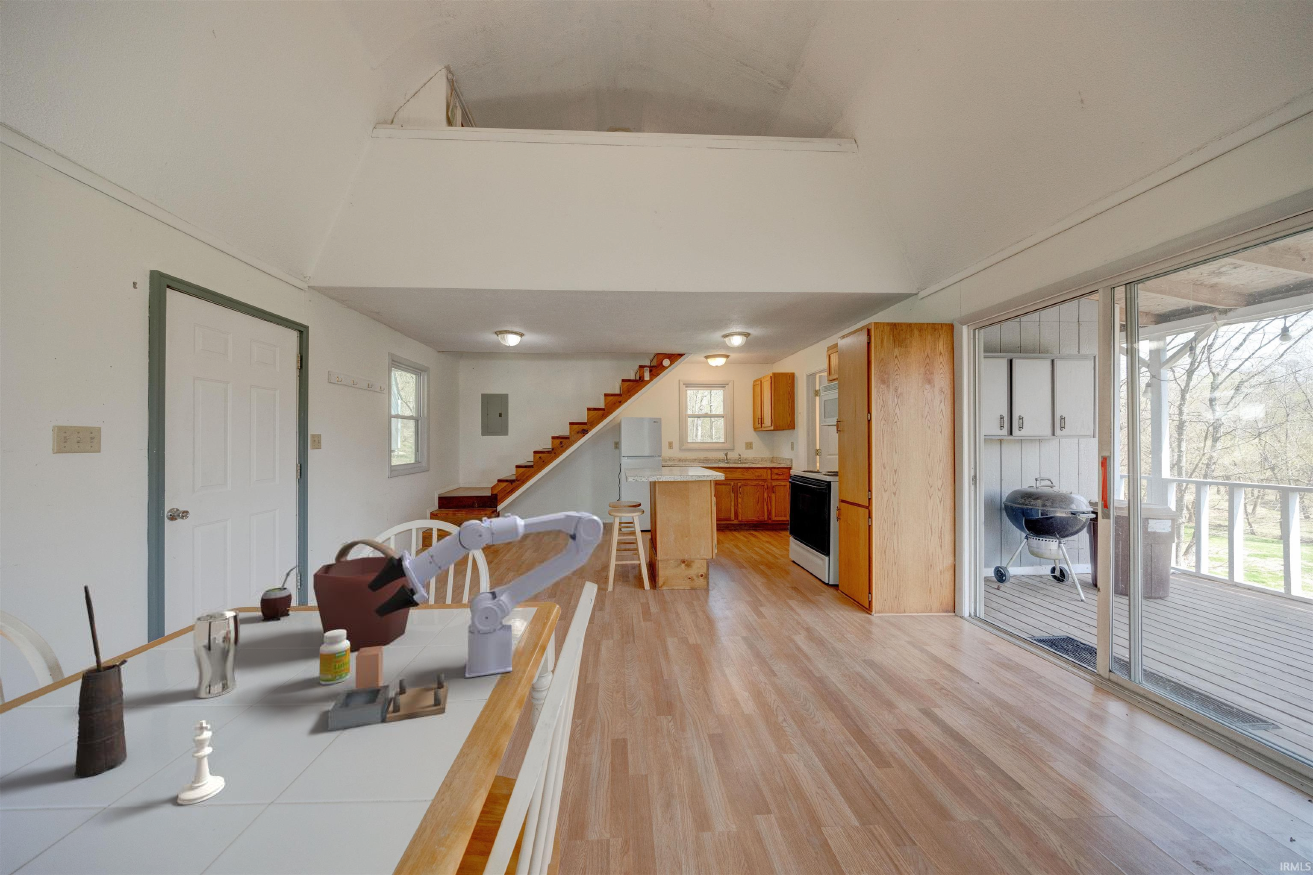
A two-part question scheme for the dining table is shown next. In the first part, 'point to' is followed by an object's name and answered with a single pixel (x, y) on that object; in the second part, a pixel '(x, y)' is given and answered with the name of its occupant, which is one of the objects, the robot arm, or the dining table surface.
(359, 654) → the pin
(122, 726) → the butter churn
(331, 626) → the bucket
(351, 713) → the socket collar
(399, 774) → the dining table surface
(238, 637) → the beer glass
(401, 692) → the board
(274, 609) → the mate gourd
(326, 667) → the supplement bottle
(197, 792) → the chess piece
